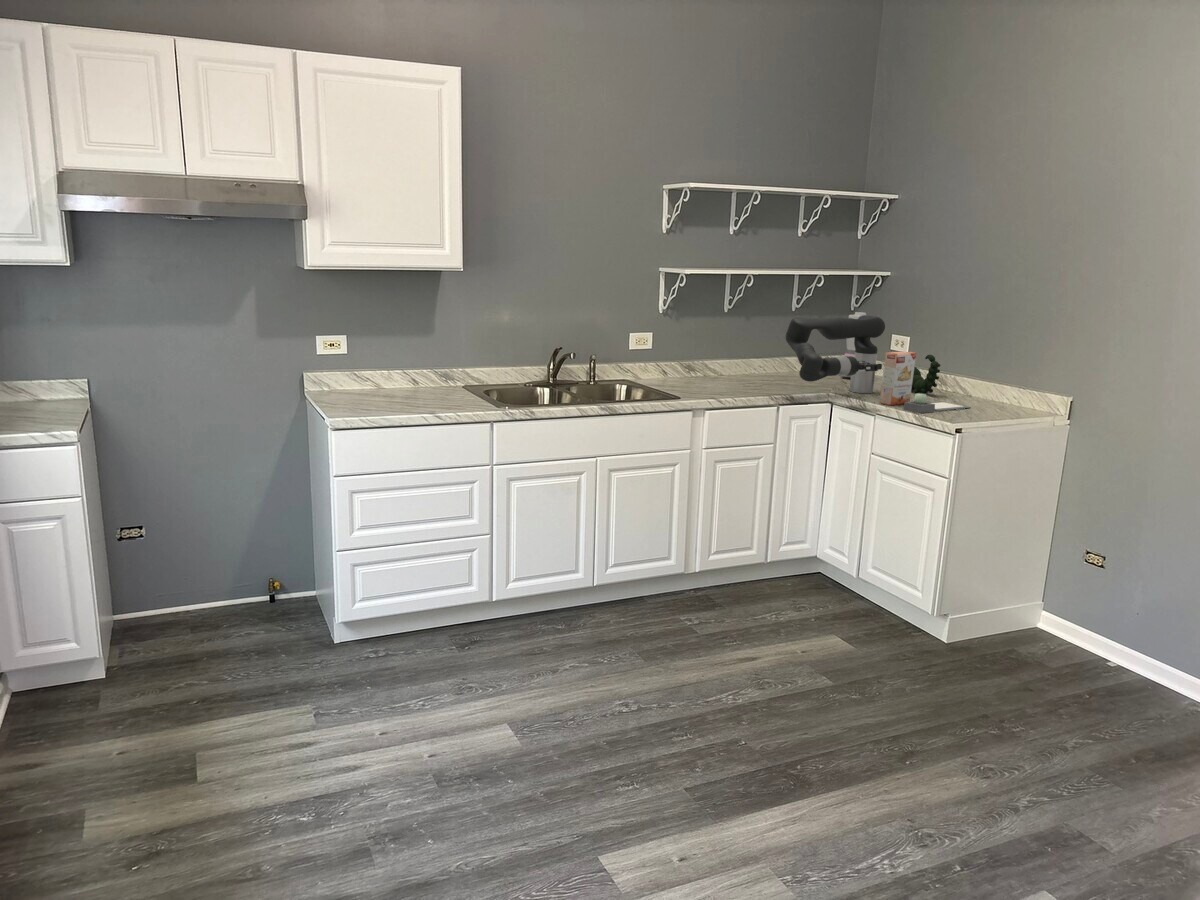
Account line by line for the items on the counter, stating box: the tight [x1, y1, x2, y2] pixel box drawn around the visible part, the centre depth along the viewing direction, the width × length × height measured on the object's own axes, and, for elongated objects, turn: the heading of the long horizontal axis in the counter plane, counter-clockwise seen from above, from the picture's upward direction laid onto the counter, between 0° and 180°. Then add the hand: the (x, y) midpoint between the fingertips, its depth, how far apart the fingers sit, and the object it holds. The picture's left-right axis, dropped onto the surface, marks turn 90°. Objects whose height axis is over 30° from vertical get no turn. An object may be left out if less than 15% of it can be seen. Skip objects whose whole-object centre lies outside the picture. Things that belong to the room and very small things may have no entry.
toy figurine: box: [911, 354, 941, 394], centre depth 384 cm, size 9×19×25 cm
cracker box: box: [879, 351, 917, 406], centre depth 350 cm, size 14×6×21 cm, turn 129°
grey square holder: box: [903, 400, 935, 414], centre depth 336 cm, size 8×8×3 cm
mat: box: [929, 401, 971, 412], centre depth 347 cm, size 14×20×1 cm
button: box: [913, 392, 927, 405], centre depth 335 cm, size 4×4×4 cm
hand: (872, 365), depth 341 cm, fingers open, 8 cm apart
